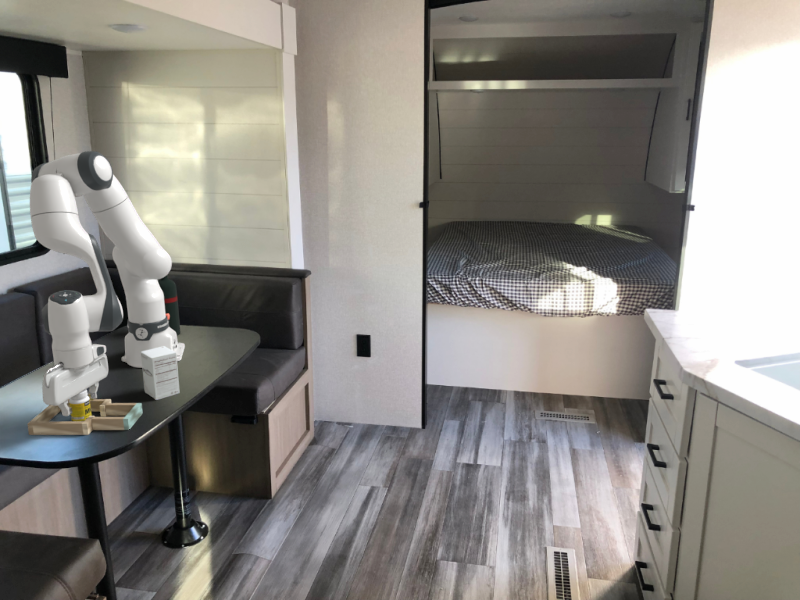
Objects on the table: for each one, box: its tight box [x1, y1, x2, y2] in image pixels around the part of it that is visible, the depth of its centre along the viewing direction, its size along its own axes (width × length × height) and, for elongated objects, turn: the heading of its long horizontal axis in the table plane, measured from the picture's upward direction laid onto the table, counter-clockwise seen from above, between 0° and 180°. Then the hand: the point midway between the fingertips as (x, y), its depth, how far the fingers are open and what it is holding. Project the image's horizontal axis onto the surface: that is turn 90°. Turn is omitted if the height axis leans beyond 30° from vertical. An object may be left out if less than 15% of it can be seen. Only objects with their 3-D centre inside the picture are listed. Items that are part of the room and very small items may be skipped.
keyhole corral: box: [27, 398, 143, 436], centre depth 164 cm, size 14×23×3 cm, turn 92°
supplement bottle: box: [69, 388, 93, 421], centre depth 163 cm, size 5×5×8 cm
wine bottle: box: [157, 274, 181, 336], centre depth 229 cm, size 8×10×30 cm
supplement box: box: [141, 346, 181, 401], centre depth 180 cm, size 7×7×13 cm
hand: (80, 406), depth 163 cm, fingers open, 8 cm apart
